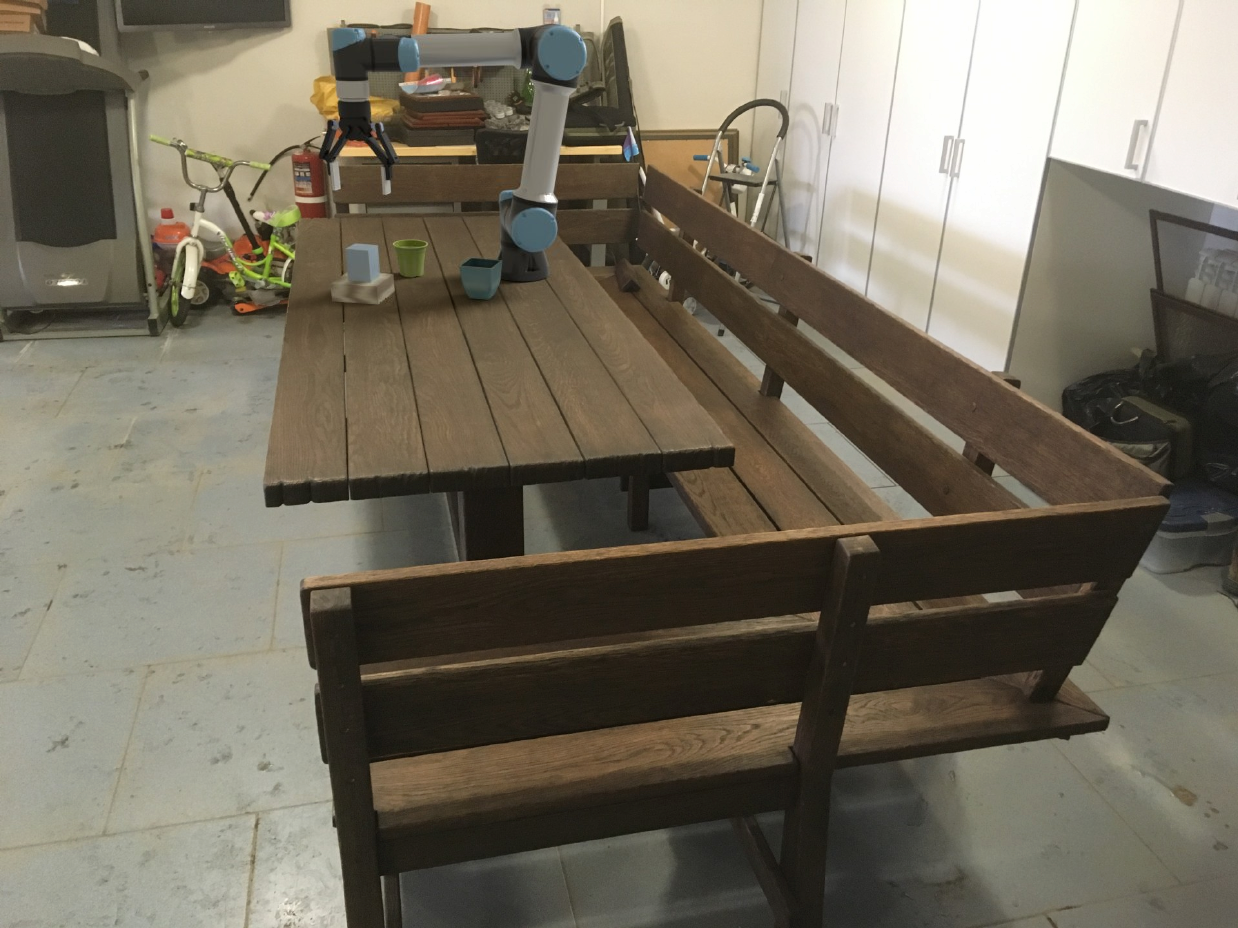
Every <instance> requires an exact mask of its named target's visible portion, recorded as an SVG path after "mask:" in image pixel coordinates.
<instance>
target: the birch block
mask: <svg viewBox="0 0 1238 928" xmlns="http://www.w3.org/2000/svg"><path fill="white" fill-rule="evenodd" d="M394 277H395V276H394V273H385V272H384V273H383V272H380V277H378V278H377V279H375V280H374V281H372V282H359V281H348V274H347V272H345V273H343V275H340V276H339V277H337V278H336V279H335V280H333V281H332V282H330V292H331V301H332V302H337V303H339V302H340V303H351V304H352V303H353V304H354V303H356V304H364V305H365V304H367V305H368V304H369V305H380V304H381V303H382V302H384V301H385V298H386V299H387V298H388V297H390V296H391V295H392V294H394V292H395V291H396V289H395V278H394ZM380 302H381V303H380Z"/></svg>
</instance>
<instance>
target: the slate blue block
mask: <svg viewBox="0 0 1238 928" xmlns="http://www.w3.org/2000/svg"><path fill="white" fill-rule="evenodd" d="M344 250H345V261H346V273H347V274H348V281H359V282H372V281H374V280H375V279H377V278H378V277H380V273H381V271H380V269H381V268H380V256H379V245H378V244H367V243H354V244H352V245H349V246H348V247H346V248H345V249H344Z"/></svg>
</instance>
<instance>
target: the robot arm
mask: <svg viewBox="0 0 1238 928" xmlns="http://www.w3.org/2000/svg"><path fill="white" fill-rule="evenodd" d="M331 49H332V61H333V67H334V68H333V69H334V70H333V71H334V76H335V77H334V78H335V79H334V80H335V91H336V98H337V99H338V101H337V102H336V103H337V113H338V114H337V115H338V116H339V120H337V119H336V118H332V119H328V120H327V123H326V132H325V135H324V138H323V141H322V143H321V146H320V150H319V153H318V158H319V159H320V160H322V161H325V162H326V169H327V175H328V176H329V177H330V179H331V188H332V189H331V190H332V191H338V190H341V189H342V188H341V177H340V169H339V168H340V166H339V165H340V164H339V161H338V160H337V157H338V156H339V154H340V153H341V152H342V150H343V148H344V147H345V146H346V144H347V143H348V141H349V142H353V141H356V142H364V143H365V144H366V145H367V146H368V147H369V148H370V149H371V151H372V152H373V153H374V155H375V156H376V157H377V159H378V160H379V162H381V164H382V166H380V175H381V185H382V186H381V187H382V195H383V196H384V195H385V196H387V195H389V194H391V193H392V191H391V188H392V187H391V186H392V185H391V181H392V180H393V178H394V175H393V174H394V171H393V166H394V165H396V164H398V163H400V158H399V156H398V155H397V153H396V149H395V147H394V146H393V145H392V142H391V140H390V138H389V136H388V134H387V132H386V128H385V127H386V126H385V123H384V122H383V121H380V122H372V108H371V107H372V106H371V101H370V100H369V99H370V83H369V73H390V74H391V73H397V74H398V73H401V74H402V73H403V74H407V73H417V72H418V71H420V68H446V67H447V68H449V67H487V66H488V67H489V66H492V67H493V66H514V67H515V69H516V70H531V73H530V76H529V77H530V78H529V80H530V82H531V83H532V86H533V87H534V94H533V99H532V107H531V113H530V121H529V126H528V133H527V138H526V139H527V141H526V146H525V151H524V159H523V165H522V166H523V167H522V173H521V179H520V186H519V187H518V188H517V189H509V190H502V191H501V192H500V193H499V196H498V198H499V199H498V206H499V227H500V228H499V232H500V233H499V235H500V236H499V237H500V238H499V239H500V245H499V246H500V248H499V251H498V254H497V257H496V260H502V270H501V279H500V280H505V281H511V282H531V281H533V282H534V281H540V280H544V279H546V278H549V276H550V265H549V262H548V258H547V256H546V255H547V254H546V253H545V250H546V249H547V248H550V246H551V245H552V244H553V243H554V241H555V240H556V237H557V234H558V223H557V219H556V216H557V210H558V203H559V200H558V198H557V197H556V195H555V194H554V191H555V185H556V178H557V173H558V168H559V167H558V166H559V162H560V155H561V150H562V142H563V136H564V130H565V125H566V119H567V112H568V106H569V101H570V100H569V99H570V96H571V95H572V94H573V93H574V92H576V91H577V89H578V83H579V78H580V74H581V73H582V71H583V69H584V68H585V66H586V63H587V56H588V54H587V53H588V51H587V45H586V43H585V41H584V40H583V37H582V36H581V35H580V34H579V33H578V32H577V31H576V30H575V29H573V28H572V27H570V26H566V25H561V24H560V25H559V24H556V23H546V24H541V25H536V26H528V27H515V28H514V29H513V30H512V31H511V32H478V33H476V32H474V33H472V32H471V33H470V32H469V33H468V32H467V33H464V32H463V33H431V34H430V33H424V34H423V33H422V34H421V33H419V34H415V33H414V34H392V33H385V34H382V35H380V36H379V37H369V36H366V33H365V30H364V29H363V28H362V27H361V28H360V27H335V28H333V30H332V31H331ZM339 129H340V131H341V133H340V134H339V136H338V139H337V141H336V142H335V144H334V145H333V142H334V140H335V137H336V134H337V131H338V130H339ZM372 131H373V132H375V134H376V136H377V138H378V140H379V142H378V141H377V140H376V137H375V135H374V134H373V133H372ZM379 143H380V144H381V145H380V144H379ZM332 146H333V147H332ZM336 160H337V161H336Z"/></svg>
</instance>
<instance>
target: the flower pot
mask: <svg viewBox="0 0 1238 928" xmlns="http://www.w3.org/2000/svg"><path fill="white" fill-rule="evenodd" d="M458 267H459V272H460V278H461V279H460V280H461V284H462V287H463V289H464V292H465V293H466V295H467V296H468V297H469V299H477V300H487V301H488V300H490V299H491V298H492V297H493V296H494V295H495V294H496V292H497V290H498V288H499V286H500V282H501V280H502V279H501V270H502V260H497V259H491V258H483V257H482V258H481V257H468V259H467V260H465V261H463V262H462V263H461V264H460V265H459V266H458Z"/></svg>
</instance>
